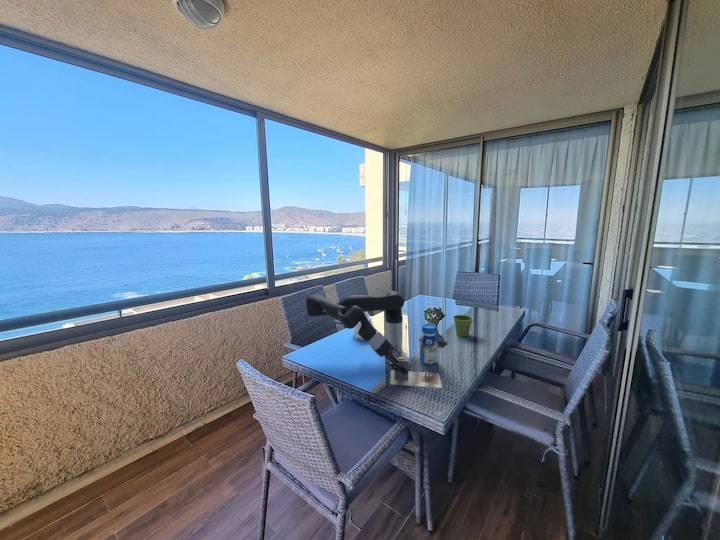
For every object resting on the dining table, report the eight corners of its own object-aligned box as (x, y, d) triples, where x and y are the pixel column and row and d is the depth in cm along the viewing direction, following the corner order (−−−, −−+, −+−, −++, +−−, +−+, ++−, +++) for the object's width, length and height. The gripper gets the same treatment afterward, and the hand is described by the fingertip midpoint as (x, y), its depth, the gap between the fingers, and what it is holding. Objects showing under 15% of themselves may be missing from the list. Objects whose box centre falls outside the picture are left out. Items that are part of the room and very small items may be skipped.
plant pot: (469, 331, 186) (470, 314, 184) (474, 338, 175) (475, 321, 173) (450, 331, 187) (451, 314, 186) (454, 338, 176) (455, 320, 174)
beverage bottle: (424, 358, 150) (425, 321, 147) (439, 363, 145) (441, 325, 141) (416, 364, 143) (417, 326, 140) (432, 370, 138) (433, 330, 135)
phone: (425, 335, 178) (447, 342, 169) (424, 337, 179) (447, 343, 169) (418, 339, 173) (441, 346, 163) (418, 341, 173) (441, 348, 163)
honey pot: (377, 337, 178) (377, 309, 175) (358, 341, 173) (357, 312, 170) (369, 330, 190) (369, 304, 187) (350, 333, 185) (350, 306, 182)
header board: (389, 387, 124) (389, 377, 123) (390, 373, 136) (390, 364, 135) (442, 391, 121) (442, 381, 120) (438, 376, 133) (439, 367, 132)
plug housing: (394, 379, 128) (394, 359, 126) (394, 374, 131) (394, 355, 130) (408, 380, 127) (408, 360, 125) (408, 375, 131) (408, 356, 129)
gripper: (374, 342, 136) (400, 367, 136) (371, 355, 122) (399, 384, 122) (385, 331, 134) (411, 357, 134) (383, 344, 120) (412, 373, 120)
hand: (405, 370), depth 128 cm, fingers open, 5 cm apart
